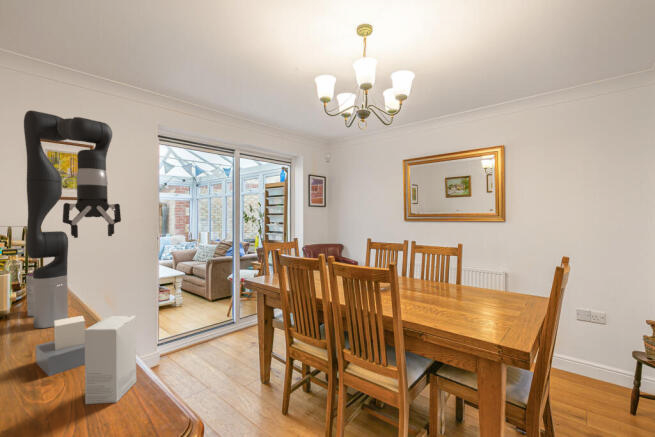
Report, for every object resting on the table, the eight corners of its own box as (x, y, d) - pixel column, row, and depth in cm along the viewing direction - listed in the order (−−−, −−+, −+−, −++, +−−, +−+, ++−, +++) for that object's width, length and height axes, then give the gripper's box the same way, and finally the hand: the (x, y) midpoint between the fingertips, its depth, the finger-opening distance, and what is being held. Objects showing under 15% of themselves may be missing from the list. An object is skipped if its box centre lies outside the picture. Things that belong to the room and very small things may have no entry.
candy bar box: (56, 308, 131) (55, 269, 131) (65, 308, 130) (65, 269, 130) (25, 316, 120) (25, 274, 120) (36, 317, 120) (35, 274, 119)
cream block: (54, 342, 83) (54, 320, 83) (82, 336, 87) (82, 315, 87) (55, 349, 79) (55, 326, 79) (85, 343, 83) (84, 320, 83)
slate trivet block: (36, 364, 82) (35, 345, 82) (91, 348, 91) (90, 331, 91) (48, 378, 75) (48, 357, 74) (106, 359, 84) (106, 340, 84)
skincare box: (109, 383, 71) (107, 315, 71) (139, 381, 72) (138, 314, 71) (83, 405, 63) (81, 329, 62) (117, 403, 63) (116, 327, 63)
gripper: (116, 186, 104) (117, 235, 104) (60, 184, 94) (61, 237, 94) (122, 185, 98) (123, 236, 99) (63, 182, 88) (64, 238, 88)
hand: (93, 236), depth 96 cm, fingers open, 8 cm apart
